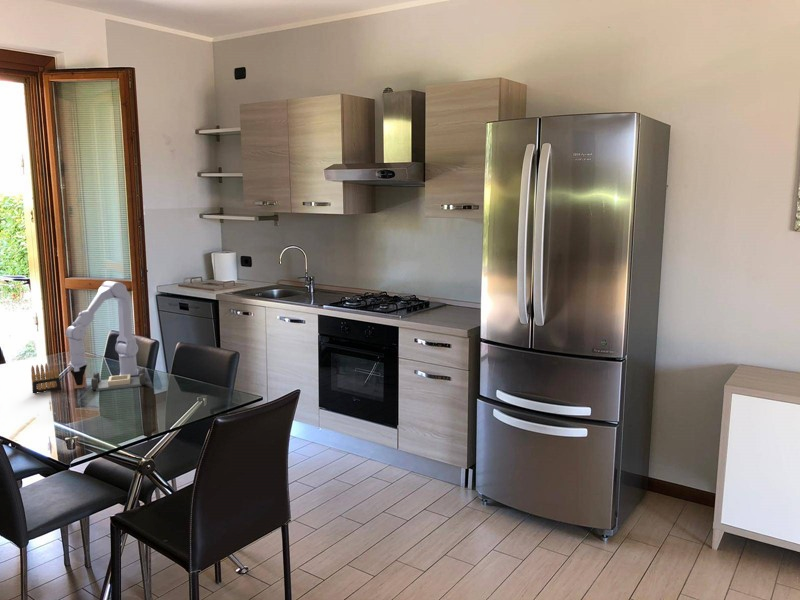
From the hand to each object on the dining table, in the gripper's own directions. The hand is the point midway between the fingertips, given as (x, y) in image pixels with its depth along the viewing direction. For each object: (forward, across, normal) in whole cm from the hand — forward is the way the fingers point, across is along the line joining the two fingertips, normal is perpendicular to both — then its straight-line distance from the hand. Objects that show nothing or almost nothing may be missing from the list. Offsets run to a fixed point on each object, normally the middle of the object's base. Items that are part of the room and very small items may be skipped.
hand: (80, 383), depth 289 cm
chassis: (+1, +3, +16) cm, 16 cm away
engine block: (+1, 0, 0) cm, 1 cm away
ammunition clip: (+2, +1, -13) cm, 13 cm away
